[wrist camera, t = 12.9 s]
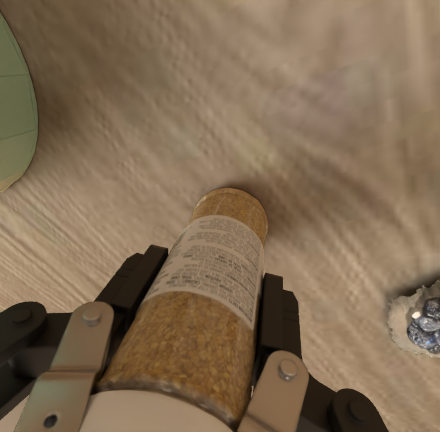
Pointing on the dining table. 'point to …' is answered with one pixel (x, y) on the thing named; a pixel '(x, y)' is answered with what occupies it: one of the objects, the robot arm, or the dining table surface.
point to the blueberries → (417, 321)
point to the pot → (15, 110)
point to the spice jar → (192, 329)
